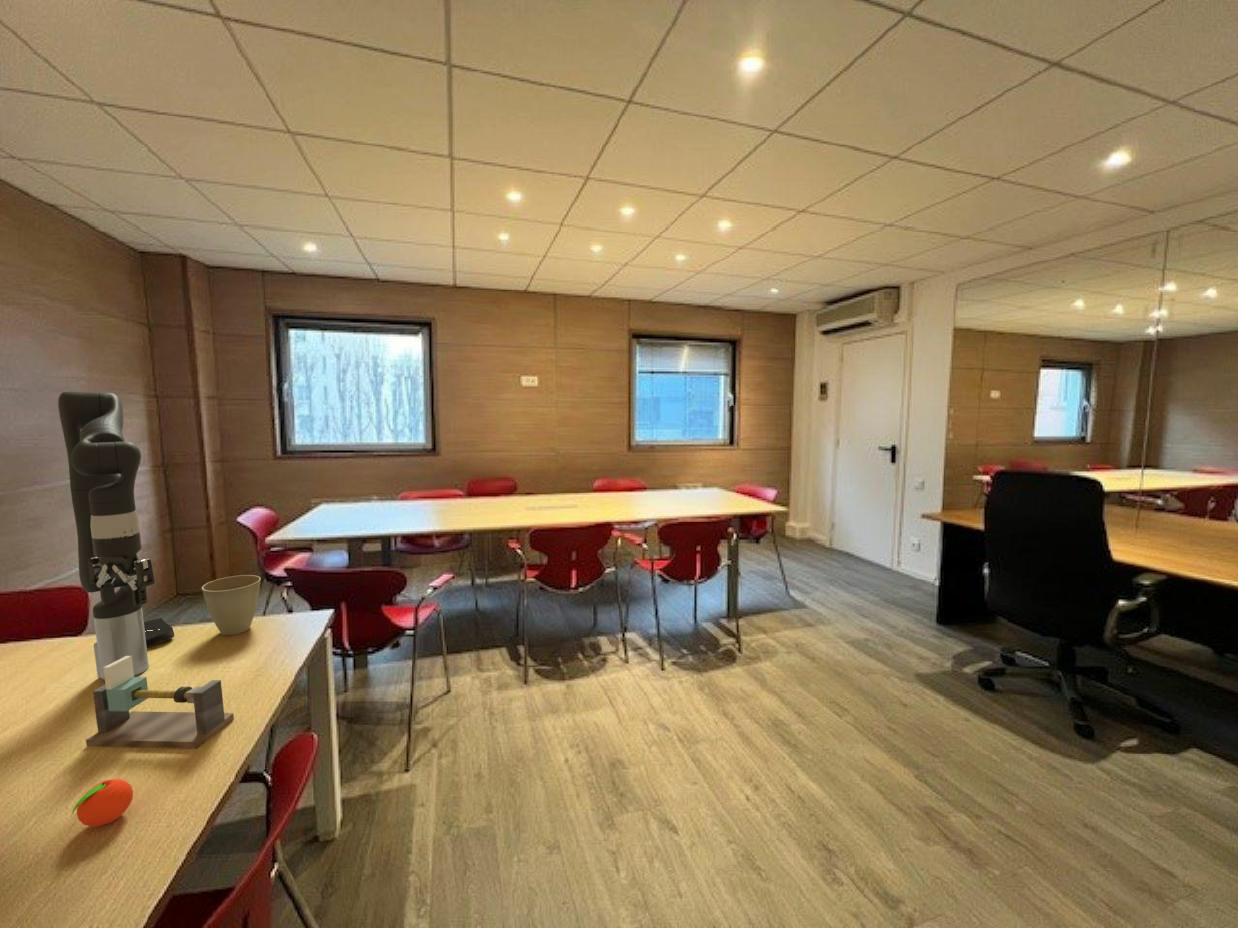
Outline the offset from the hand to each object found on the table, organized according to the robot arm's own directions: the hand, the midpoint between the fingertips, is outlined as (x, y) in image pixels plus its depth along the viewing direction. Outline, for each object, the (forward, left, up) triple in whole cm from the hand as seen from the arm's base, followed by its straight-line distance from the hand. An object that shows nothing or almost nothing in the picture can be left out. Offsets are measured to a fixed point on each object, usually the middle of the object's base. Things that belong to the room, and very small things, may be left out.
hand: (124, 603), depth 113 cm
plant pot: (-13, +46, -28) cm, 56 cm away
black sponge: (-35, +40, -29) cm, 61 cm away
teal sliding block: (+3, -4, -22) cm, 22 cm away
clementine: (+22, -28, -28) cm, 45 cm away
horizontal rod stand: (+10, -4, -28) cm, 30 cm away
